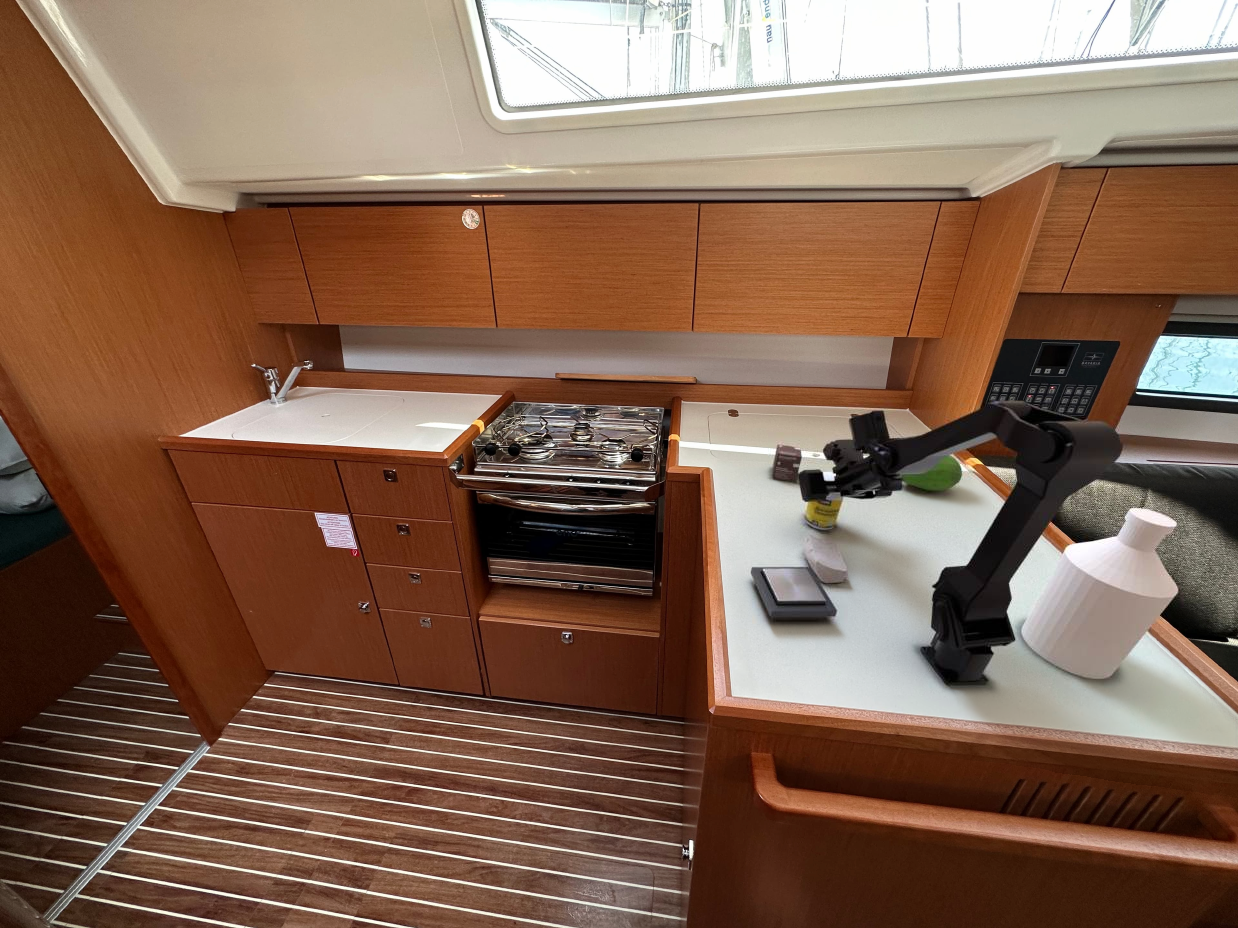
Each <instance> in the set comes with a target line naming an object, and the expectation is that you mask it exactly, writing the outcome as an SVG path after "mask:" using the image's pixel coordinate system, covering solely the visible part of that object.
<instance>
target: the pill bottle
mask: <svg viewBox="0 0 1238 928" xmlns="http://www.w3.org/2000/svg"><path fill="white" fill-rule="evenodd" d="M822 472H823V471H822ZM823 475H824V480H825V481H834V476H836V474H833V471H824V472H823ZM831 488H836V487H831ZM844 498H845V497H841V495H840V493H829V496H827V497H826V500H827V501H820V502H807V505H806V509H805V513H804V522H806V524H807V525H809V526H810V527H812V528H814V529H817V530H821V531H828V530H831V529H833V528H834V527H835V526H836V523H837V520H838V517H839V514H840V512H841V511H840V510H841V507H842V504H843V501H844Z"/></svg>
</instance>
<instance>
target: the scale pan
mask: <svg viewBox="0 0 1238 928" xmlns="http://www.w3.org/2000/svg"><path fill="white" fill-rule="evenodd" d="M762 576H763V578H764V580H765V582H766V585H767V587H768V589H769V591H770V593H771V595H772V597H773V599H774V601H775V603H776V606H818V605H825V602H826V600H825V598H824V596H823V595H822V593H821V591H820V590H819V588H818V587H817V585H816V583H815V582H814V580H813V578H812V577H811V575H810V573H809V572H808V570H807V569H763V571H762Z"/></svg>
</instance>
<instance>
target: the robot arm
mask: <svg viewBox="0 0 1238 928" xmlns="http://www.w3.org/2000/svg"><path fill="white" fill-rule="evenodd" d="M848 426H849V430H850V434H851V438H852V439H851V438H850V439H848V438H847V439H845V438H844V439H836V440H833V441H830V442H829V443H826V444H825V445H824V447H823V449H822V453H823V456H824V458H825V459H826V461H831V462H833V464H834V466H833V467H831V469H832V473H833V474H836V476H834V481H825V480H824V475H823V471H822V470H821V469H820V468H814V469H803V470H801V471H800V472H798V475H797V480H798V485H799V490H800V495H801V498H802V501H804V503H808V502H820V501H827V500H826V497H827V496H829V493H840V495H841V497H844V498H849V499H850V498H851V499H857V500H872V499H886V498H889V497H892V495H893V492H901V491H903V487H904V484H903V478H901V474H921V473H925V472H927V471H929V470H930V469H932V468H934V467H935V466H937V465H938V464H939V463H940V461H941V460H942V459H943V458H944V457H946V456H948V455H950V456H951V455H953V454H955V453H959V452H962V451H964V450H966V449H967V450H968V449H970V448H972V447H976V446H979V445H980V444H983V443H986V442H988V441H991V440H995V439H998V441H999V442H1000V443H1001V444H1002V445H1003V447H1005V448H1007V449H1009V450H1011V451H1013V452H1014V453H1016V454H1015V457H1014V460H1013V465H1014V470H1015V478H1016V482H1015V484H1014V486H1013V488H1012V489H1011V491H1010V492H1009V494H1008V496H1007V497H1006V500H1005V501H1004V503H1003V504H1002V506H1001V507H1000V509H999V511H998V512H997V514H996V516H995V518H994V519H993V521H992V523H991V524H990V526H989V528H988V529H987V531H986V533H985V534H984V536H983V537H982V539H981V540H980V543H979V544H978V546H977V548H976V549H975V551H974V553H973V554H972V556H971V557H970V559H969V561H968V562H967V564H965V565H955V566H953V565H952V566H945V567H944V568H943V569H942V570H941V571H940V574H939V576H938V579H937V581H936V582H935V583H934V584H932V585H931V587H932V589H934V590H933V592H932V595H931V602H932V605H931V621H930V628H931V629H932V630H933V631H934V632H935V633H934V635H933V637H932V639H931V641H930V646H929V645H928V646H926V645H924V646H923V645H922V646H921V647H920V649H919V650H920V652H921V653H922V654H923V656H924V657H925V659H926V660H927V661H928V662H929V664H930V665H931V667H932V668H933V669H934V671H935V672H936V673H937V675H939V677H940V678H941V679H942V681H943V682H944V683H945V684H947V685H949V686H951V685H953V686H954V685H987V684H988V683H989V682H990V681H989V679H988V677H987V676H986V675H985V674H984V672H985V670H986V669H987V667H988V665H989V664H990V661H991V660H992V658H993V657H994V655H995V652H994V651H993V650H992V648H994V647H1008V646H1009V645H1011V644H1013V643H1014V642H1016V641H1017V640H1016V636H1015V633H1014V630H1013V627H1012V624H1011V620H1010V617H1009V613H1008V609H1009V607H1010V605H1011V602H1012V600H1013V595H1012V590H1011V586H1010V582H1011V580H1012V578H1014V576H1015V574H1016V573H1017V571H1018V570H1019V568H1020V567H1021V566H1022V564H1023V563H1024V561H1025V560H1026V558H1028V555H1029V554H1030V552H1031V551H1032V550H1033V548H1034V546H1035V545H1036V544H1037V542H1038V541H1039V539H1040V538H1041V537H1042V535H1043V533H1044V532H1045V530H1046V529H1047V528H1048V527H1049V525H1050V523H1051V522H1052V521H1053V519H1054V517H1055V516H1056V514H1057V513H1058V512H1059V510H1060V509H1061V508H1062V506H1063V504H1064V503H1065V501H1066V500H1067V499H1068V498H1069V497H1070V496H1073V494H1075V493H1077V492H1079V491H1080V490H1082V489H1083V488H1085V487H1087V486H1088V485H1090V484H1092V483H1093V482H1096V480H1098V479H1099V478H1100V477H1101V476H1102V475H1103V474H1104V473H1105V472H1106V471H1107V470H1108V469H1110V468H1111V467H1112V466H1113V465H1114V464H1115V463H1116V461H1117V460H1118V459H1120V457H1121V455H1122V453H1123V449H1124V444H1123V442H1122V441H1121V439H1120V435H1119V433H1118V431H1116V429H1115V428H1114V427H1113V426H1111V425H1110V424H1108V423H1107V422H1105V421H1104V422H1103V421H1101V420H1082V419H1079V418H1077V417H1074V416H1070V415H1066V414H1064V413H1059V412H1055V411H1052V410H1047V409H1044V408H1040V407H1038V406H1036V405H1033V404H1031V403H1028V402H1025V401H1023V400H994V401H990V402H988V403H986V404H984V405H982V406H981V408H978V409H976V410H974V411H971V412H969V413H967V414H965V415H963V416H960V417H958V418H955V419H954V420H952V421H950V422H947V423H945V424H943V425H941V426H938V427H935V428H934V429H931V430H929V431H927V432H924V433H923V434H919V435H914V436H913V435H912V436H906V437H890V436H891V435H890V432H889V428H888V425H887V421H886V415H885V412H884V410H882V409H881V410H880V409H879V410H872V411H870V412H867V413H863V414H858V415H856V416H852V417H850V418H849V419H848ZM864 455H868V456H865V457H864ZM831 487H836V488H831Z"/></svg>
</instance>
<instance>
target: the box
mask: <svg viewBox="0 0 1238 928" xmlns="http://www.w3.org/2000/svg"><path fill="white" fill-rule="evenodd" d="M802 458H803V456H802V448H801V447H796V446H791V445H786V444H785V445H784V444H776V449H775V453H774V458H773V463H772V468H771V469H772V470H771V475H772V476H771V477H772V479H775V480H781V481H788V482H793V483H796V482H797V480H798V474H799V471H800V467H801V464H802V463H801V462H802Z"/></svg>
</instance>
